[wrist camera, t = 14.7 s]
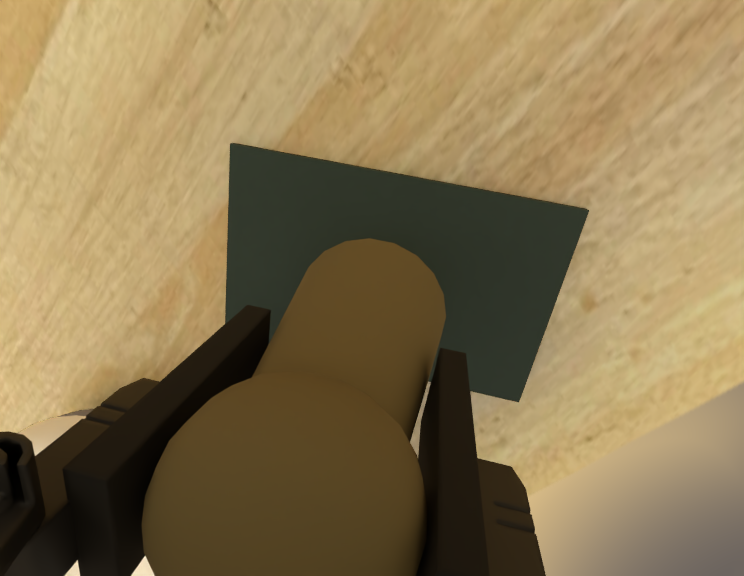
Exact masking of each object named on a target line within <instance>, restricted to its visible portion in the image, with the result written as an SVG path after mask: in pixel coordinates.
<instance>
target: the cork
mask: <svg viewBox="0 0 744 576" xmlns="http://www.w3.org/2000/svg"><path fill="white" fill-rule="evenodd" d="M445 319H446V311H445V301H444V294H443V292H442V290H441V288H440V285H439V283H438V281H437V279H436V277H435V275H434V273H433V272H432V271H431V270H430V269H429V268H428V267H427V266H426V265H425V264H424V263H423V261H422V260H421V259H420V258H419V257H418V256H417V255H415V254H413V253H411V252H410V251H408V250H406V249H404V248H402V247H400V246H399V245H397V244H395V243H391V242H386V241H381V240H376V239H370V238H368V239H360V240H351V241H345V242H343V243H341V244H338V245H336V246H334V247H332V248H330V249H328V250H326V251H324V252H323V253H322V254H321V255H320V256H319V257H318V258H317V259H316V260H315V261H314V262H313V263H312V264H311V265H310V266H309V267H308V269H307V271H306V273H305V275H304V277H303V279H302V281H301V283H300V285H299V287H298V288H297V290H296V292H295V294H294V296H293V298H292V300H291V302H290V304H289V306H288V308H287V310H286V312H285V314H284V316H283V318H282V320H281V321H280V323H279V325H278V327H277V329H276V331H275V333H274V335H273V337H272V339H271V341H270V343H269V345H268V347H267V349H266V351H265V352H264V354H263V356H262V358H261V360H260V362H259V364H258V366H257V368H256V370H255V372H254V374H253V376H252V378H249V379H247V380H244V381H242V382H239V383H237V384H234V385H232V386H230V387H228V388H227V389H225V390H223V391H222V392H220V393H219V394H217V395H215V396H214V397H212V398H211V399H210V400H209V401H208V402H206V403H205V404H204V405H203V406H202V407H201V408H200V409H199V410H198V411H197V412H196V413H195V414H194V415H193V416H192V417H191V418H189V419H188V420H187V422H186V423H185V424H184V425H183V426H182V427H181V428H180V429H179V430H178V431H177V432H176V434H175V435H174V436H173V437H172V438H171V439H170V440H169V442H168V444H167V446H166V448H165V450H164V452H163V454H162V456H161V458H160V460H159V462H158V464H157V466H156V468H155V471H154V473H153V476H152V479H151V481H150V484H149V486H148V489H147V492H146V494H145V500H144V508H143V517H142V537H143V549H144V554H145V556H146V558H147V560H148V563H149V565H150V567H151V569H152V571H153V573H154V575H155V576H416V574H417V571H418V567H419V564H420V561H421V558H422V554H423V551H424V548H425V544H426V541H427V514H428V510H427V503H426V497H425V490H424V483H423V477H422V473H421V469H420V465H419V462H418V458H417V455H416V453H415V451H414V449H413V447H412V446H411V444H410V440H411V437H412V434H413V430H414V427H415V423H416V420H417V417H418V413H419V410H420V407H421V403H422V400H423V396H424V393H425V390H426V386H427V383H428V380H429V376H430V373H431V369H432V366H433V363H434V359H435V356H436V353H437V349H438V346H439V342H440V339H441V335H442V331H443V327H444V323H445Z"/></svg>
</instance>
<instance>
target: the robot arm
mask: <svg viewBox="0 0 744 576" xmlns="http://www.w3.org/2000/svg"><path fill="white" fill-rule="evenodd" d="M270 318H271V310H270V309H265V308H261V307H256V306H252V305H246V306H245V307H244V308H243V309H242V310H241V311H240V312H238V313H237V314H236V315H235V316H234V317H233V318H232V319H230V320H229V321H228V322H227V323H226V324H225V325H224V326H223V327H221V328H220V329H219V330H218V331H217V332H216V333H215V334H214V335H212V336H211V337H210V338H209V339H208V340H207V341H206V342H204V343H203V344H202V345H201V346H200V347H199V348H198V349H197V350H195V351H194V352H193V353H192V354H191V355H190V356H189V357H188V358H186V359H185V360H184V361H183V362H182V363H181V364H180V365H178V366H177V367H176V368H175V369H174V370H173V371H172V372H171V373H169V374H168V375H167V376H166V377H165V378H164V379H163V380H162V381H160V382H158V381H154V380H150V379H146V378H142V379H140V380H138V381H136V382H133V383H131V384H129V385H127V386H124V387H122V388H120V389H119V390H118V391H116V392H115V393H114V394H113V395H111V396H110V397H109V398H107V399H106V400H105V401H104V402H102V404H101V406H97V407H96V408H95V409H94V410H92V411H91V412H90V413H89V414H87V415H86V418H85V419H81V420H80V421H79V422H77V423H76V424H75V425H74V426H72V427H71V428H70V429H69V430H67V431H66V432H65V433H63V434H62V435H61V436H60V437H58V438H57V439H56V440H55V441H53V442H52V443H51V444H50V445H48V446H47V447H46V448H45V449H43V450H42V451H41V452H40V453H38V454H37V455H36V456H35V454H34V449H33V444H32V441H30V440H29V439H28V438H27V437H26V436H24V435H23V434H18V433H13V432H0V576H65V574H66V573H67V572H68V571H69V570H70V569H71V567H72V566H73V565H74V564H75V563H76V561H77V560H78V566H79V572H80V576H131V575H132V574H133V572H134V571H135V569H136V568H137V567H138V565H139V564H140V562H141V561H142V559H143V558H144V557H145V554H144V549H143V537H142V517H143V508H144V500H145V494H146V492H147V489H148V486H149V484H150V481H151V479H152V476H153V473H154V471H155V468H156V466H157V464H158V462H159V460H160V458H161V456H162V454H163V452H164V450H165V448H166V446H167V444H168V442H169V440H170V439H171V438H172V437H173V436H174V435H175V434H176V432H177V431H178V430H179V429H180V428H181V427H182V426H183V425H184V424H185V423H186V422H187V420H188V419H189V418H191V417H192V416H193V415H194V414H195V413H196V412H197V411H198V410H199V409H200V408H201V407H202V406H203V405H204V404H205V403H206V402H208V401H209V400H210V399H211V398H212V397H214V396H215V395H217V394H219V393H220V392H222V391H223V390H225V389H227V388H228V387H230V386H232V385H234V384H237V383H239V382H242V381H244V380H247V379H249V378H252V376H253V374H254V372H255V370H256V368H257V366H258V364H259V362H260V360H261V358H262V356H263V354H264V352H265V351H266V349H267V347H268V344H269V331H270ZM418 462H419V465H420V469H421V473H422V477H423V483H424V490H425V497H426V503H427V510H428V514H427V541H426V544H425V548H424V551H423V554H422V558H421V561H420V564H419V567H418V571H417V574H416V576H546V575H545V571H544V566H543V562H542V558H541V554H540V549H539V545H538V540H537V536H536V534H535V533H534V532H535V527H534V523H533V519H532V515H531V514H530V507H529V502H528V497H527V493H526V489H525V487H524V485H523V484H522V482H521V480H520V479H519V477H518V476H517V474H516V473H515V471H514V470H513V468H512V467H511V466H507V465H503V464H499V463H494V462H490V461H486V460H482V459H478V458H477V452H476V442H475V433H474V424H473V414H472V405H471V395H470V386H469V376H468V367H467V358H466V353H463V352H458V351H454V350H449V349H445V348H440V350H439V354H438V358H437V362H436V366H435V369H434V373H433V377H432V381H431V385H430V389H429V392H428V396H427V400H426V404H425V408H424V412H423V416H422V419H421V428H420V442H419V455H418Z"/></svg>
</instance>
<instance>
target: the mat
mask: <svg viewBox="0 0 744 576" xmlns="http://www.w3.org/2000/svg"><path fill="white" fill-rule="evenodd" d="M588 212H589V210H587V209H585V208H580V207H575V206H569V205H564V204H558V203H553V202H548V201H542V200H537V199H532V198H526V197H521V196H515V195H510V194H505V193H499V192H494V191H489V190H483V189H478V188H472V187H467V186H462V185H456V184H451V183H446V182H440V181H435V180H429V179H424V178H419V177H413V176H408V175H403V174H397V173H392V172H387V171H381V170H376V169H370V168H365V167H360V166H354V165H349V164H344V163H338V162H333V161H327V160H322V159H317V158H311V157H306V156H301V155H295V154H290V153H284V152H279V151H274V150H268V149H263V148H258V147H252V146H247V145H241V144H236V143H231V144H230V170H229V207H228V243H227V280H226V316H225V324H226V323H227V322H228V321H229V320H230V319H232V318H233V317H234V316H235V315H236V314H237V313H238V312H240V311H241V310H242V309H243V308H244V307H245V306H246V305H252V306H256V307H261V308H265V309H270V310H271V318H270V331H269V343H270V341H271V339H272V337H273V335H274V333H275V331H276V329H277V327H278V325H279V323H280V321H281V320H282V318H283V316H284V314H285V312H286V310H287V308H288V306H289V304H290V302H291V300H292V298H293V296H294V294H295V292H296V290H297V288H298V287H299V285H300V283H301V281H302V279H303V277H304V275H305V273H306V271H307V269H308V267H309V266H310V265H311V264H312V263H313V262H314V261H315V260H316V259H317V258H318V257H319V256H320V255H321V254H322V253H323V252H324V251H326V250H328V249H330V248H332V247H334V246H336V245H338V244H341V243H343V242H345V241H351V240H360V239H368V238H370V239H376V240H381V241H386V242H391V243H395V244H397V245H399V246H400V247H402V248H404V249H406V250H408V251H410V252H411V253H413V254H415V255H417V256H418V257H419V258H420V259H421V260H422V261H423V263H424V264H425V265H426V266H427V267H428V268H429V269H430V270H431V271H432V272H433V273H434V275H435V277H436V279H437V281H438V283H439V285H440V288H441V290H442V292H443V294H444V301H445V311H446V319H445V323H444V327H443V331H442V335H441V339H440V342H439V346H438V349H437V353H436V356H435V359H434V363H433V366H432V369H431V373H430V376H429V380H428V381H429V382H431V381H432V377H433V373H434V369H435V366H436V362H437V358H438V354H439V350H440V348H445V349H449V350H454V351H458V352H463V353H466V358H467V367H468V376H469V386H470V391H473V392H477V393H481V394H486V395H490V396H494V397H499V398H503V399H507V400H512V401H516V402H519V401H520V398H521V395H522V393H523V390H524V387H525V384H526V382H527V379H528V376H529V373H530V371H531V368H532V365H533V362H534V360H535V357H536V354H537V352H538V349H539V346H540V343H541V341H542V338H543V335H544V332H545V330H546V327H547V324H548V322H549V319H550V316H551V313H552V311H553V308H554V305H555V302H556V300H557V297H558V294H559V291H560V289H561V286H562V283H563V281H564V278H565V275H566V272H567V270H568V267H569V264H570V261H571V259H572V256H573V253H574V250H575V248H576V245H577V242H578V240H579V237H580V234H581V231H582V229H583V226H584V223H585V220H586V218H587V215H588Z"/></svg>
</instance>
